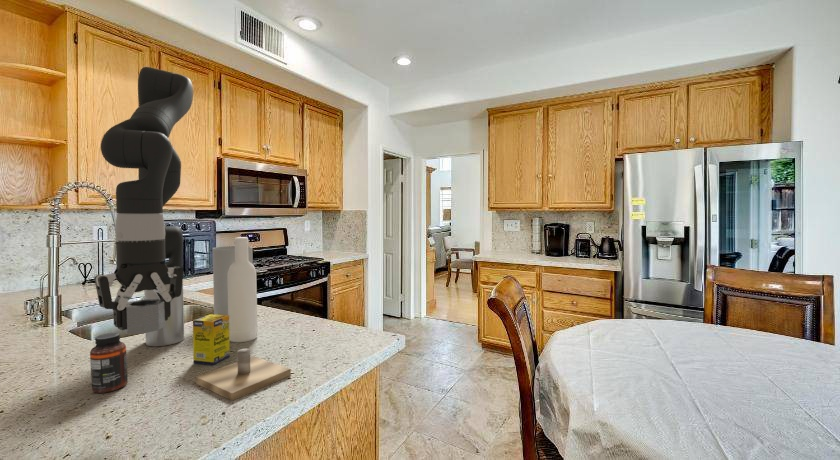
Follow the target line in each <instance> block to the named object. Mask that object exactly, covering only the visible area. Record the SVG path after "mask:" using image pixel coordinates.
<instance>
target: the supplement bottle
mask: <svg viewBox="0 0 840 460" xmlns="http://www.w3.org/2000/svg"><path fill="white" fill-rule="evenodd" d="M94 339H95V345H94V347H92V348H91V350H90V351H89V355H90V356H89V357H90V358H89V361H90V377H91V378H90V379H91V382H90V383H91V391H92V392H93V393H95V394H96V393H97V394H103V393H104V394H105V393H111V392H114V391H116V390H120V389H121V388H123V387H125V386H126V385H127V383H128V380H129V379H128V377H129V375H128V357H127V356H128V355H127V346H126V344H125V342H122V341H120V340H121V335H120V333H118V332H109V333H103V334H100V335H97V336H96V337H95V338H94Z"/></svg>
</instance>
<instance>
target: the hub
mask: <svg viewBox="0 0 840 460" xmlns="http://www.w3.org/2000/svg"><path fill="white" fill-rule="evenodd" d="M124 309H125V310H126V322H127V329H126V330H121V333H124V334H125V335H143V334H144V335H145V333H148V332H153V331H157V330H160V329H161V328H163V327H164V326H165V304H164V301H163V300H160V299H145V298H143V299H139V300H132V301H128V303H127V304H126V306H125V308H124Z"/></svg>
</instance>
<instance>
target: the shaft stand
mask: <svg viewBox="0 0 840 460" xmlns="http://www.w3.org/2000/svg"><path fill="white" fill-rule="evenodd" d="M236 353H237V355H236V357H237V361H236V362H233V363H230V364H226V365H224V366H221V367H219V368H216V369H212V370H210V371H207V372H205V373H202V374H199V375H196V376H195V384H197V386H198V385H199V386H200V387H202V388H205V389H207V390H209V391H211V392H213V393H215V394H217V395H220V396H221V397H223V398H226V399H228V400H230V401H234V400H237V399H239V398H241V397H243V396H246V395H248V394H250V393H253V392H255V391H257V390H260V389H263V388H265V387H267V386H269V385H271V384H273V383H276V382H278V381H281V380H283V379H285V378H288V377H290V376H291V374H292V372H291V368H290V367H286V366H284V365H280V364H278V363H274V362H273V361H269V360H265V359H263V358H260V357H258V356H255V355H253V356H251V349H250V348H241V349H238V350H237V352H236Z"/></svg>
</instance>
